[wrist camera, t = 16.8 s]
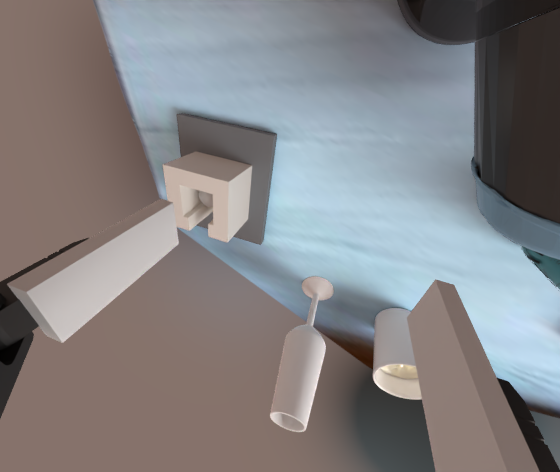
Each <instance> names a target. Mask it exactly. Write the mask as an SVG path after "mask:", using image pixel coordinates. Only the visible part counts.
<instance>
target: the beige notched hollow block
mask: <svg viewBox="0 0 560 472" xmlns="http://www.w3.org/2000/svg"><path fill="white" fill-rule="evenodd" d="M163 171H164V178H165V184H166V191H167V198H168V201H170V202H173V204H174V212H175V219H176V227H179V228H182V229H186V230H189V231H190V230H191V229H192V228H193V227H195V226H196V225H197V224H198V223H199V222H201V221H202V220H203V219H204V218H205V217H207V216H208V215H209V214H210V213H211V212H213V220H212V221H211V222H210V223H209V224H208V235H209V237H211V238H214V239H218V240H221V241H224V242H227V243H228V242H229V240H230V239H231V238H232V237H233V236H234V235H235V234H236V232H237V231H238V230H239V229H240V228H241V227H242V226H243V224H244V223H245V222H246V221H247V220H248V214H249V201H250V188H251V175H252V165H249V164H245V163H241V162H237V161H233V160H229V159H225V158H221V157H217V156H213V155H209V154H205V153H201V152H193V153H191V154H188V155H186V156H183V157H180V158H178V159H175V160H173V161H170V162H168V163H165V164H163ZM199 191H203V192H207V193H210V194H213V207H208V206H205V205H204V204H203V203H202V202H201V200H200V198H199Z"/></svg>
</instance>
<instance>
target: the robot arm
mask: <svg viewBox="0 0 560 472" xmlns="http://www.w3.org/2000/svg"><path fill="white" fill-rule="evenodd" d="M398 3H399V6H400V9H401V12H402V14H403V16H404V18H405V19H406V21H407V23H408V24H409V25H410V26H411V28H412V29H413V30H414V31H415V32H417V33H418V34H419V35H420V36H422V37H423V38H425V39H427V40H429V41H432V42H435V43H439V44H445V45H460V44H467V43H471V42H475V41H476V42H475V109H474V157H473V158H472V161H471V169H472V173H473V176H474V177H475V179H476V191H477V204H478V207H479V210H480V212H481V214H482V215H483V216H485V218H486V219H487V221H488V223H489V224H490V225H491V226H492V227H493V228H494V229H495V230H497V231H498V232H499V233H501V234H502V235H503V236H505V237H506V238H508V239H510V240H511V241H513V242H515V243H517V244H519V245H521V246H523V247H526V248H528V249H530V250H533V251H535V252H538V253H541V254H544V255H546V256H549V257H552V258H556V259H559V260H560V0H398ZM557 7H558V8H557ZM552 9H553V10H552ZM545 12H546V13H545ZM540 14H541V15H540ZM535 16H536V17H535ZM532 17H533V18H532ZM530 18H531V19H530ZM527 19H529V20H527ZM525 20H526V21H525ZM522 21H524V22H522ZM520 22H521V23H520ZM518 23H519V24H518ZM515 24H517V25H515ZM513 25H514V26H513ZM511 26H512V27H511ZM178 244H179V242H178V235H177V227H176V219H175V212H174V204H173V202H170V201H167V200H163V199H159V200H158V201H156V202H154V203H152V204H150V205H149V206H147V207H145V208H143V209H141V210H140V211H138V212H136V213H134V214H132V215H131V216H129V217H127V218H125V219H123V220H122V221H120V222H118V223H116V224H114V225H113V226H111V227H109V228H107V229H105V230H104V231H102V232H100V233H98V234H96V235H95V236H93V237H91V238H86V239H83V240H80V241H77V242H74V243H72V244H70V245H68V246H66V247H64V248H62V249H60V250H59V252H55V253H53V254H51V255H49V256H48V258H44V259H42V260H40V261H38V262H36V263H34V264H33V265H31V266H29V267H27V268H25V269H24V270H21V271H20V272H18V273H16V274H14V275H12V276H10V277H8V278H7V279H5V280H3V281H1V282H0V418H1V416H2V413H3V411H4V408H5V406H6V403H7V401H8V399H9V396H10V394H11V391H12V389H13V387H14V384H15V382H16V379H17V377H18V374H19V372H20V370H21V367H22V365H23V362H24V360H25V358H26V355H27V353H28V350H29V348H30V345H31V343H32V341H33V336H34V334H33V332H32V330H34V329H35V328H37V327H38V326H39V327H40V328H41V330H42V331H43V332H44V333H45V335H46V336H48V337H51V338H53V339H55V340H58V341H60V342H62V343H63V342H64V341H65V340H67V339H68V338H69V337H70V336H71V335H72V334H73V333H75V332H76V331H77V330H78V329H79V328H81V327H82V326H83V325H84V324H85V323H86V322H88V321H89V320H90V319H91V318H92V317H93V316H95V315H96V314H97V313H98V312H99V311H101V310H102V309H103V308H104V307H105V306H106V305H108V304H109V303H110V302H111V301H112V300H113V299H114V298H116V297H117V296H118V295H119V294H120V293H122V292H123V291H124V290H125V289H126V288H127V287H129V286H130V285H131V284H132V283H133V282H134V281H136V280H137V279H138V278H139V277H140V276H142V275H143V274H144V273H145V272H146V271H147V270H149V269H150V268H151V267H152V266H153V265H154V264H156V263H157V262H158V261H159V260H160V259H161V258H163V257H164V256H165V255H166V254H167V253H169V252H170V251H171V250H172V249H173V248H174V247H176V246H177V245H178ZM407 322H408V327H409V332H410V338H411V343H412V348H413V353H414V359H415V364H416V369H417V375H418V380H419V385H420V390H421V396H422V401H423V406H424V412H425V417H426V422H427V427H428V432H429V438H430V443H431V448H432V454H433V459H434V465H435V470H436V472H560V470H559V468H558V466H557V464H556V462H555V460H554V458H553V456H552V454H551V452H550V450H549V448H548V446H547V445H545V444H544V438H543V436H542V435H541V433H540V431H539V429H538V427H537V426H535V421H534V419H533V417H532V415H531V413H530V411H529V409H528V407H527V405H526V403H525V401H524V400H523V399H522V398H521V396H520V395H519V394H518V393H517V391H516V390H515V389H514V388H513V386H512V385H511V384H510V383H509V382H508V381H505V380H502V379H499V378H496V375H495V373H494V371H493V369H492V367H491V364H490V362H489V360H488V358H487V356H486V354H485V351H484V349H483V347H482V345H481V343H480V340H479V338H478V336H477V334H476V332H475V330H474V327H473V325H472V323H471V321H470V319H469V316H468V314H467V312H466V310H465V308H464V306H463V303H462V301H461V299H460V297H459V295H458V292H457V290H456V288H455V286H454V285H452V284H449V283H446V282H442V281H439V280H435V281H434V282H433V283H432V285H431V286H430V287H429V289H428V290H427V291H426V293H425V294H424V295H423V297H422V298H421V299H420V301H419V302H418V303H417V305H416V306H415V307H414V309H413V310H412V311H411V313H410V314H409V315H408V317H407Z"/></svg>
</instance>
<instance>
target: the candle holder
mask: <svg viewBox="0 0 560 472" xmlns="http://www.w3.org/2000/svg"><path fill="white" fill-rule="evenodd" d="M410 313H411V312H410V311H408V310H405V309H401V308H389V309H385V310H383V311H381V312H379V313H378V314H377V316H376V318H375V326H374V363H373V379H374V382H375V383H376V384H377V386H378V387H380V388H381V389H382V390H384V391H386V392H388V393H389V394H392V395H395V396H397V397H401V398H406V399H422V396H421V390H420V385H419V380H418V375H417V369H416V364H415V359H414V353H413V348H412V343H411V338H410V332H409V327H408V322H407V317H408V315H409V314H410Z"/></svg>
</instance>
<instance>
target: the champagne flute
mask: <svg viewBox="0 0 560 472" xmlns="http://www.w3.org/2000/svg"><path fill="white" fill-rule="evenodd" d="M302 289H303V291H304V293H305V294H306V295H307V296H309V297H310V298H312V302H311V306H310V310H309V315H308V319H307V323H306V325H302V326H298V327H296V328H294V329H292V330H291V331H290V332H289V333H288V334H287V336H286V338H285V344H284V348H283V353H282V358H281V363H280V368H279V373H278V377H277V382H276V388H275V392H274V398H273V402H272V407H271V412H270V418H271V419H272V420H273V421H274V422H275V423H276V424H278V425H279V426H281V427H283V428H285V429H288V430H291V431H295V432H303V431H305V430H306V427H307V423H308V419H309V415H310V411H311V407H312V403H313V398H314V394H315V390H316V387H317V383H318V379H319V375H320V371H321V367H322V362H323V358H324V355H325V350H326V347H325V343H324V340H323V338H322V336H321V335H320V333H318V331H317V330H316V329H315V328H314V327H313V322H314V317H315V312H316V308H317V303H318V300H326V299H329V298H330V297H331V296H332V295H333V293H334V289H333V286H332V284H331V283H330V282H329V281H327V280H326V279H324V278H321V277H309V278H307V279H305V280H304V281H303V283H302Z"/></svg>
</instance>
